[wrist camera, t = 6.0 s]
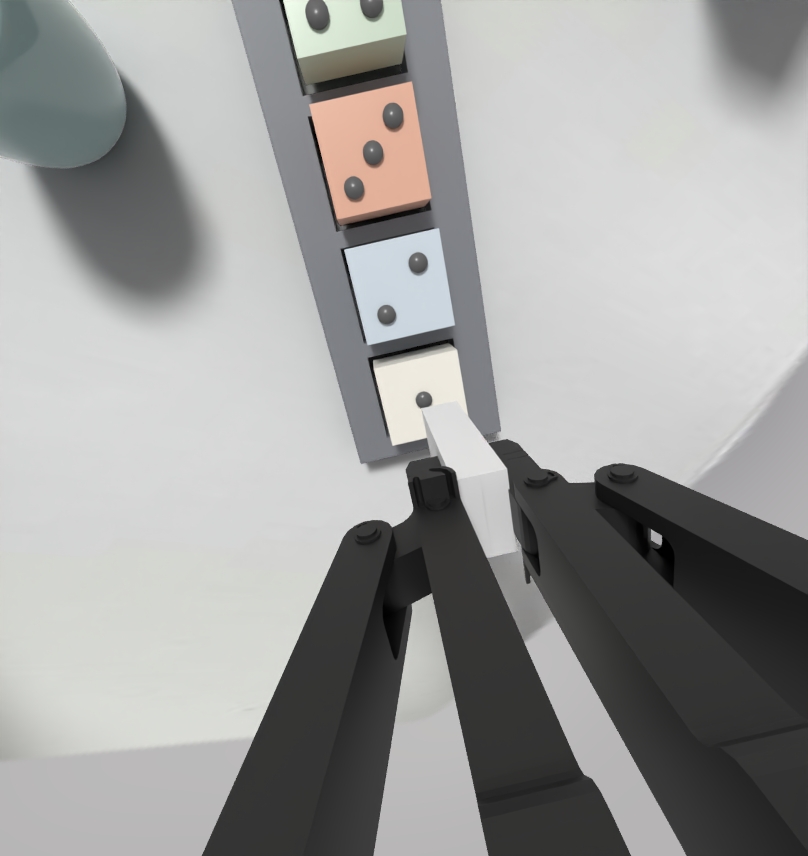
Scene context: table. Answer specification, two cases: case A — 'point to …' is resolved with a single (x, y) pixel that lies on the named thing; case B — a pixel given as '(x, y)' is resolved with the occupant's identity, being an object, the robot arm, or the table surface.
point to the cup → (56, 87)
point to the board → (325, 244)
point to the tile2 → (401, 286)
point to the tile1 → (417, 388)
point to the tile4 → (345, 36)
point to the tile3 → (372, 153)
